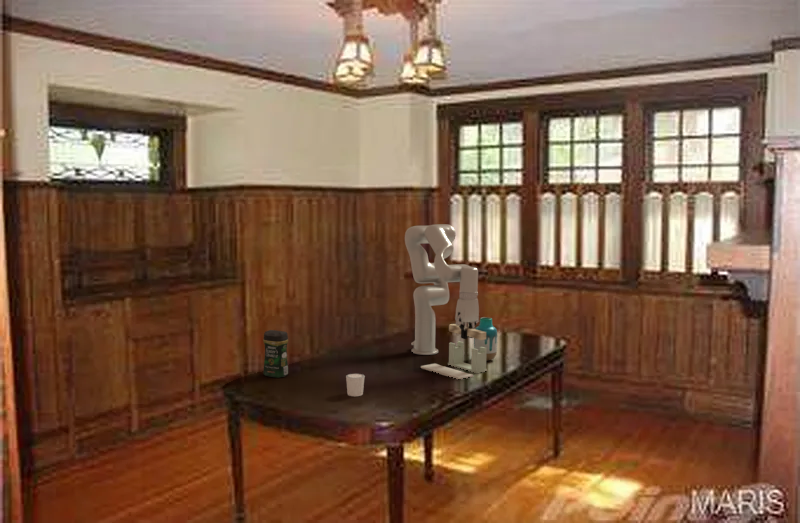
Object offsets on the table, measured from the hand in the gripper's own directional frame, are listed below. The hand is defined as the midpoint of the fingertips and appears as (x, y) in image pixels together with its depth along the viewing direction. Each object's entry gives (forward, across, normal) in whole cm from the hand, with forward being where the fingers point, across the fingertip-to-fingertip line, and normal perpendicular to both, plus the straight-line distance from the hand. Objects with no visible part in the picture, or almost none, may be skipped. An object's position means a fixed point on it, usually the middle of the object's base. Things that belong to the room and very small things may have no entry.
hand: (466, 337), depth 296 cm
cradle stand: (+13, 0, +1) cm, 13 cm away
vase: (+14, -17, -5) cm, 22 cm away
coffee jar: (+14, +72, -36) cm, 82 cm away
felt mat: (+13, +12, +1) cm, 18 cm away
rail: (-1, 0, 0) cm, 1 cm away
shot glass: (+13, +61, +5) cm, 63 cm away
